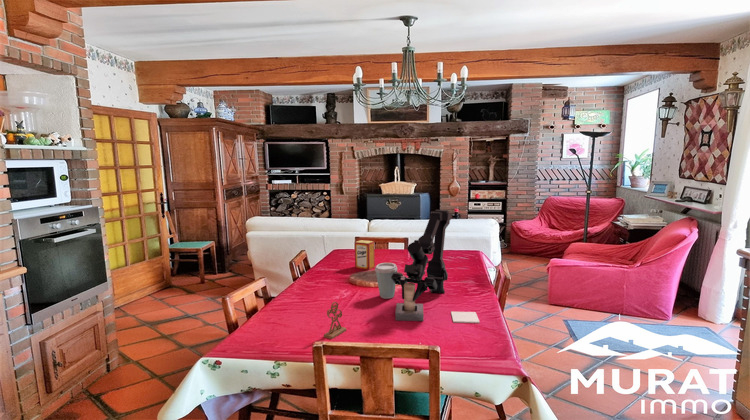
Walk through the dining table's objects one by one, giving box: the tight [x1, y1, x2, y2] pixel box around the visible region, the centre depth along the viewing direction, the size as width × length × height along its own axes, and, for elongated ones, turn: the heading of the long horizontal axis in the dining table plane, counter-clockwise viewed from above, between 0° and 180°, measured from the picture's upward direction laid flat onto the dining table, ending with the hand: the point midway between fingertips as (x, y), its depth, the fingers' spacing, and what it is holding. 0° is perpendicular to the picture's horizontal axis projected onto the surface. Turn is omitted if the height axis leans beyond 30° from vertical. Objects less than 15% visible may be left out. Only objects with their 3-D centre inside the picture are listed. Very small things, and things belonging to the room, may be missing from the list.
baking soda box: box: [354, 239, 376, 271], centre depth 235 cm, size 10×6×16 cm
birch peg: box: [403, 282, 416, 311], centre depth 163 cm, size 4×4×13 cm
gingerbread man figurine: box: [323, 301, 347, 340], centre depth 147 cm, size 9×4×12 cm, turn 147°
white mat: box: [450, 311, 480, 324], centre depth 161 cm, size 10×10×1 cm
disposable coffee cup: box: [374, 262, 398, 299], centre depth 186 cm, size 11×11×15 cm
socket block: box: [394, 302, 425, 322], centre depth 164 cm, size 11×11×3 cm
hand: (408, 299), depth 162 cm, fingers closed on birch peg, 4 cm apart
